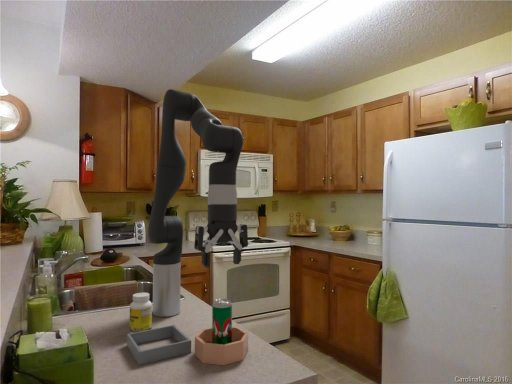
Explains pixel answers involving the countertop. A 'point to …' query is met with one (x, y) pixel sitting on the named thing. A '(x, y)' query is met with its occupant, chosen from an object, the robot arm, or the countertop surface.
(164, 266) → the robot arm
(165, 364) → the countertop surface
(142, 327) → the pill bottle
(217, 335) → the soda can
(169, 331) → the grey square frame
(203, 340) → the bowl
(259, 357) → the countertop surface
